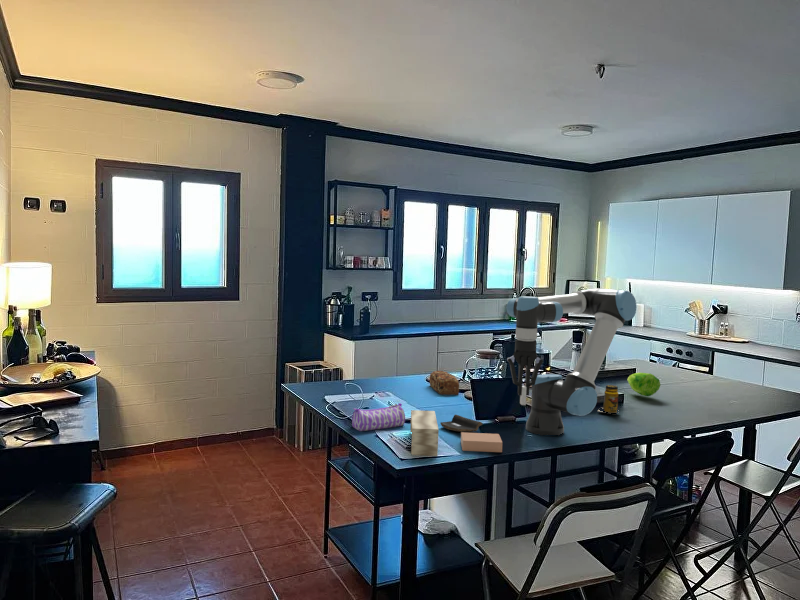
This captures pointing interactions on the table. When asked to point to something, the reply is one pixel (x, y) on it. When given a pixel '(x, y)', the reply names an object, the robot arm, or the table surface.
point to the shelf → (424, 433)
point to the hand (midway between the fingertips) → (522, 404)
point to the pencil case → (378, 418)
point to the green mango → (644, 383)
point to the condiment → (610, 399)
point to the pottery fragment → (462, 424)
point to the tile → (481, 442)
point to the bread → (444, 383)
